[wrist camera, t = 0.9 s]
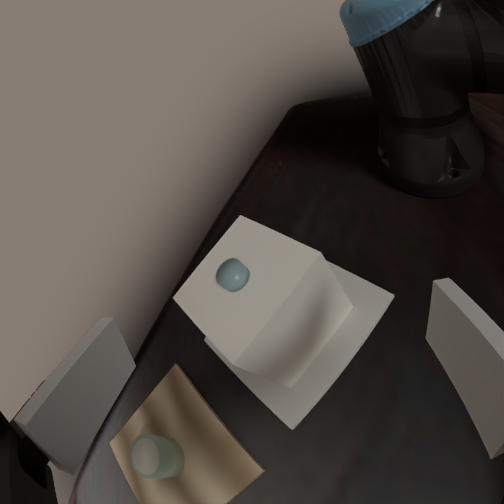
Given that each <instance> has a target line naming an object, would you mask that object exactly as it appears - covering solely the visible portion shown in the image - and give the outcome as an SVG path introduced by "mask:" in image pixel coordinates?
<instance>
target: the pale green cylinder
mask: <svg viewBox="0 0 504 504" xmlns="http://www.w3.org/2000/svg"><path fill="white" fill-rule="evenodd" d="M130 456H131V462H132V465H133V468H134V469H135V471H136V472H137V473H138V474H139V475H140V476H141V477H143V478H146V479H174V478H176V477H178V476H179V475H180V474H181V472H182V471H183V468H184V464H185V457H184V452H183V450H182V447H181V446H180V444H179V443H178V442H177V441H176V440H174V439H172V438H169V437H163V436H156V435H150V434H141V435H139V436H138V437H137V438H136V439H135V440H134V442H133V444H132V446H131V452H130Z"/></svg>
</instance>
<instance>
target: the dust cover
mask: <svg viewBox="0 0 504 504" xmlns="http://www.w3.org/2000/svg"><path fill="white" fill-rule="evenodd" d="M173 299H174V300H175V301H176V302H177V303H178V305H179V306H180V307H181V308H182V309H183V310H184V312H185V313H186V314H187V315H188V316H189V317H190V319H191V320H192V321H193V322H194V323H195V324H196V325H197V326H198V328H199V329H200V330H201V331H202V332H203V333H204V334H205V335H206V337H207V338H208V339H209V340H210V341H211V342H212V343H213V344H214V345H215V346H216V347H217V349H218V350H219V351H220V352H221V353H222V354H223V355H224V356H225V357H226V358H227V359H228V360H229V361H230V362H231V363H232V364H233V365H235V366H237V367H239V368H242V369H244V370H246V371H249V372H251V373H254V374H256V375H258V376H261V377H263V378H266V379H268V380H271V381H274V382H276V383H279V384H281V385H284V386H287V387H290V388H291V387H292V386H293V385H294V383H295V382H296V381H297V380H298V379H299V377H300V376H301V375H302V374H303V373H304V371H305V370H306V369H307V368H308V366H309V365H310V364H311V363H312V361H313V360H314V359H315V358H316V356H317V355H318V354H319V353H320V351H321V350H322V349H323V347H324V346H325V345H326V343H327V342H328V341H329V340H330V338H331V337H332V336H333V334H334V333H335V331H336V330H337V329H338V327H339V326H340V325H341V323H342V322H343V320H344V319H345V318H346V316H347V315H348V313H349V312H350V311H351V309H352V308H353V305H352V303H351V302H350V300H349V298H348V297H347V295H346V293H345V292H344V290H343V288H342V286H341V285H340V283H339V281H338V280H337V278H336V276H335V275H334V273H333V271H332V270H331V268H330V266H329V265H328V263H327V262H326V260H325V258H324V257H323V255H322V253H321V252H319V251H317V250H315V249H312V248H310V247H308V246H306V245H304V244H302V243H300V242H298V241H296V240H293V239H291V238H289V237H287V236H285V235H283V234H281V233H278V232H276V231H274V230H272V229H270V228H268V227H265V226H263V225H261V224H259V223H257V222H254V221H252V220H250V219H248V218H246V217H243V216H241V215H240V216H239V217H238V219H237V220H236V221H235V222H234V223H233V224H232V226H231V227H230V228H229V229H228V230H227V232H226V233H225V234H224V235H223V236H222V238H221V239H220V240H219V241H218V243H217V244H216V245H215V246H214V247H213V249H212V250H211V251H210V252H209V253H208V255H207V256H206V257H205V258H204V260H203V261H202V262H201V263H200V264H199V266H198V267H197V268H196V269H195V271H194V272H193V273H192V274H191V276H190V277H189V278H188V279H187V281H186V282H185V283H184V284H183V286H182V287H181V288H180V289H179V291H178V292H177V293H176V294H175V296H174V297H173Z"/></svg>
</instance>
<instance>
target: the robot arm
mask: <svg viewBox="0 0 504 504" xmlns="http://www.w3.org/2000/svg"><path fill="white" fill-rule="evenodd" d="M340 17H341V20H342V23H343V25H344V27H345V30H346V32H347V34H348V36H349V44H350V45H351V47H353V48H354V51H355V53H356V55H357V58H358V60H359V62H360V65H361V67H362V69H363V72H364V74H365V76H366V79H367V82H368V84H369V87H370V89H371V92H372V95H373V97H374V100H375V102H376V105H377V108H378V111H379V115H380V122H379V141H378V153H379V158H380V161H381V165H382V168H383V171H384V173H385V175H386V176H387V178H388V179H389V180H390V181H391V182H392V183H393V184H394V185H395V186H397V187H398V188H400V189H402V190H404V191H406V192H408V193H411V194H414V195H417V196H422V197H429V198H443V197H450V196H454V195H457V194H460V193H462V192H465V191H467V190H468V189H470V188H471V187H473V186H474V185H475V184H476V183H477V182H478V181H479V179H480V178H481V176H482V174H483V171H484V167H485V147H484V143H483V140H482V137H481V134H480V132H479V129H478V127H477V124H476V122H475V119H474V117H473V115H472V112H471V110H470V106H469V98H468V93H492V94H504V0H346V1H345V2H344V3H343V4H342V6H341V8H340ZM426 340H427V341H428V343H429V344H430V346H431V348H432V349H433V351H434V352H435V354H436V356H437V357H438V359H439V361H440V362H441V364H442V366H443V367H444V369H445V371H446V372H447V374H448V376H449V378H450V379H451V381H452V383H453V385H454V386H455V388H456V390H457V392H458V394H459V395H460V397H461V399H462V401H463V403H464V405H465V407H466V408H467V410H468V412H469V414H470V416H471V418H472V420H473V422H474V424H475V426H476V428H477V430H478V432H479V434H480V436H481V438H482V441H483V443H484V445H485V447H486V449H487V451H488V454H489V456H490V458H491V459H493V458H494V457H496V456H498V455H500V454H502V453H504V332H503V331H502V330H501V329H500V328H499V327H498V326H497V324H496V323H495V322H494V321H493V320H492V319H491V318H490V317H489V316H488V315H487V314H486V313H485V312H484V311H483V310H482V309H481V308H480V307H479V306H478V305H477V304H476V303H475V302H474V301H473V300H472V299H471V298H470V297H469V296H468V295H467V294H466V293H465V292H464V291H463V290H461V289H460V288H459V287H458V286H457V285H456V284H455V283H454V282H453V281H452V280H451V279H450V278H445V279H440V280H435V281H433V288H432V298H431V306H430V313H429V320H428V327H427V333H426ZM135 367H136V365H135V363H134V361H133V358H132V356H131V354H130V352H129V350H128V348H127V345H126V343H125V341H124V339H123V336H122V334H121V332H120V329H119V327H118V325H117V322H116V320H115V317H102V318H100V319H99V321H98V322H97V323H96V324H95V325H94V326H93V327H92V328H91V329H90V330H89V331H88V332H87V333H86V335H85V336H84V337H83V338H82V339H81V340H80V341H79V342H78V343H77V344H76V345H75V347H74V348H73V349H72V350H71V351H70V352H69V353H68V354H67V356H66V357H65V358H64V359H63V360H62V361H61V362H60V364H59V365H58V366H57V367H56V368H55V369H54V370H53V372H52V373H51V374H50V375H49V377H47V379H46V380H44V381H43V382H42V383H41V384H40V386H39V387H38V388H37V389H36V392H34V393H33V394H32V395H31V398H29V399H28V401H27V402H26V403H25V404H24V405H23V406H22V408H21V409H20V410H19V412H18V413H17V414H16V415H15V417H14V418H13V419H12V420H11V421H10V423H9V422H8V420H7V419H6V418H5V417H4V415H3V414H2V413H1V411H0V504H58V502H57V497H56V493H55V487H54V481H53V476H52V471H51V469H50V467H49V466H48V465H47V463H48V462H49V460H50V461H51V462H52V463H53V464H54V465H55V466H56V467H57V468H58V469H60V470H62V471H64V472H66V473H69V474H71V475H74V473H75V471H76V469H77V467H78V465H79V464H80V462H81V460H82V458H83V456H84V454H85V453H86V450H87V449H88V447H89V445H90V444H91V442H92V440H93V438H94V437H95V435H96V433H97V431H98V430H99V428H100V426H101V424H102V423H103V421H104V419H105V417H106V416H107V414H108V412H109V410H110V409H111V407H112V405H113V404H114V402H115V400H116V398H117V397H118V395H119V393H120V392H121V390H122V388H123V387H124V385H125V383H126V382H127V380H128V378H129V377H130V375H131V373H132V372H133V370H134V368H135ZM501 504H504V496H503V499H502V502H501Z"/></svg>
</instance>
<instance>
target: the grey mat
mask: <svg viewBox="0 0 504 504" xmlns="http://www.w3.org/2000/svg"><path fill="white" fill-rule="evenodd" d="M326 262H327V263H328V265H329V266H330V268H331V270H332V271H333V273H334V275H335V276H336V278H337V280H338V281H339V283H340V285H341V286H342V288H343V290H344V292H345V293H346V295H347V297H348V298H349V300H350V302H351V303H352V305H353V308H352V309H351V311H350V312H349V313H348V315H347V316H346V318H345V319H344V320H343V322H342V323H341V325H340V326H339V327H338V329H337V330H336V331H335V333H334V334H333V336H332V337H331V338H330V340H329V341H328V342H327V343H326V345H325V346H324V347H323V349H322V350H321V351H320V353H319V354H318V355H317V356H316V358H315V359H314V360H313V361H312V363H311V364H310V365H309V366H308V368H307V369H306V370H305V371H304V373H303V374H302V375H301V376H300V377H299V379H298V380H297V381H296V382H295V383H294V385H293V386H292V387H291V388H290V387H287V386H284V385H281V384H279V383H276V382H274V381H271V380H268V379H266V378H263V377H261V376H258V375H256V374H254V373H251V372H249V371H246V370H244V369H242V368H239V367H237V366H235V365H233V364H232V363H231V362H230V361H229V360H228V359H227V358H226V357H225V356H224V355H223V354H222V353H221V352H220V351H219V350H218V349H217V347H216V346H215V345H214V344H213V343H212V342H211V341H210V340H209V339H208V338H207V337H206V338H205V339H204V341H205V342H206V343H207V344H208V345H209V346H210V347H211V348H212V350H213V351H214V352H215V353H216V354H217V355H218V356H219V357H220V358H221V359H222V361H223V362H224V363H225V364H226V365H227V366H228V367H229V368H230V369H231V370H232V371H233V372H234V373H235V374H236V375H237V376H238V378H239V379H240V380H241V381H242V382H243V383H244V384H245V385H246V386H247V387H248V388H249V389H250V390H251V391H252V392H253V393H254V394H255V395H256V396H257V397H258V398H259V399H260V400H261V401H262V402H263V403H264V404H265V405H266V406H267V407H268V408H269V409H270V410H271V411H272V412H273V413H274V414H275V415H277V416H278V417H279V418H280V419H281V420H282V421H283V422H284V423H285V424H286V425H287V426H288V427H289V428H290V429H294V428H295V427H296V426H297V425H298V424H299V423H300V422H301V420H302V419H303V418H304V417H305V416H306V415H307V414H308V413H309V411H310V410H311V409H312V408H313V407H314V406H315V405H316V403H317V402H318V401H319V400H320V399H321V397H322V396H323V395H324V394H325V393H326V391H327V390H328V389H329V388H330V387H331V385H332V384H333V383H334V382H335V380H336V379H337V378H338V377H339V375H340V374H341V373H342V371H343V370H344V369H345V368H346V366H347V365H348V364H349V362H350V361H351V360H352V358H353V357H354V356H355V354H356V353H357V351H358V350H359V349H360V347H361V346H362V345H363V343H364V342H365V340H366V339H367V337H368V336H369V335H370V333H371V332H372V330H373V329H374V327H375V326H376V324H377V323H378V321H379V320H380V318H381V317H382V315H383V314H384V312H385V311H386V309H387V307H388V306H389V304H390V303H391V301H392V299H393V298H394V295H393V294H391V293H389V292H388V291H386V290H384V289H382V288H380V287H378V286H376V285H374V284H372V283H370V282H368V281H366V280H364V279H362V278H360V277H358V276H356V275H354V274H352V273H350V272H348V271H346V270H344V269H342V268H340V267H338V266H336V265H334V264H332V263H330V262H328V261H326Z"/></svg>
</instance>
